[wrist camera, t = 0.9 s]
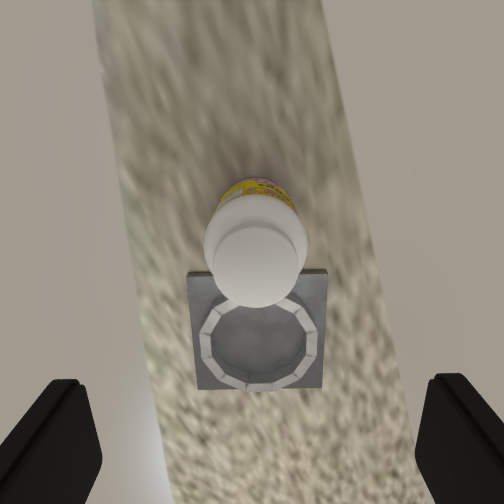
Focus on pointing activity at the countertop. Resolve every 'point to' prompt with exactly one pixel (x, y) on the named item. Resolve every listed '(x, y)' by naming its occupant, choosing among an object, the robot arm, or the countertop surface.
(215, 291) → the ring plate
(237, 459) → the countertop surface
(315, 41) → the countertop surface
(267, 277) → the supplement bottle
